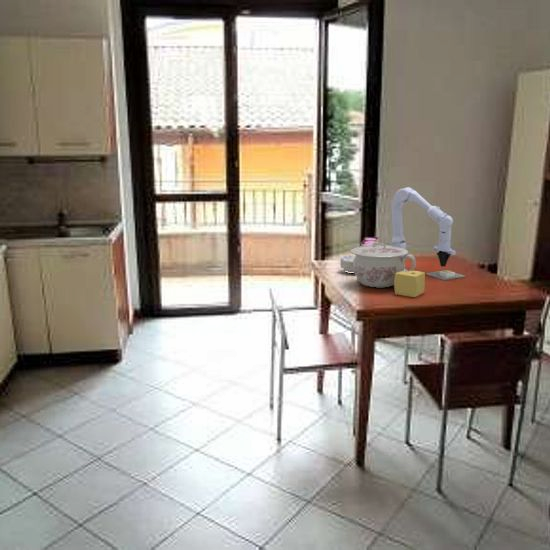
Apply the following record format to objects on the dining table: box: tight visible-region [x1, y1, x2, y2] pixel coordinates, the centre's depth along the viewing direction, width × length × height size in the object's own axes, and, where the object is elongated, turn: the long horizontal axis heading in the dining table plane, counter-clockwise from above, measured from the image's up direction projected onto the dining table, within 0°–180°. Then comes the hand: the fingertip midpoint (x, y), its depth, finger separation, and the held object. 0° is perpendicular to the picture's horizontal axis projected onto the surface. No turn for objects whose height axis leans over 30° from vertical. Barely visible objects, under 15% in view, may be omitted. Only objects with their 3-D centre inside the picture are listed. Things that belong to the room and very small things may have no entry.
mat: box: [425, 271, 467, 281], centre depth 281 cm, size 14×14×1 cm
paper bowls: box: [339, 254, 356, 272], centre depth 291 cm, size 15×15×8 cm
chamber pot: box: [350, 242, 417, 289], centre depth 264 cm, size 28×28×21 cm
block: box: [438, 269, 456, 278], centre depth 279 cm, size 5×2×6 cm
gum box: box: [360, 236, 379, 246], centre depth 309 cm, size 24×8×14 cm, turn 165°
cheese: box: [393, 270, 426, 298], centre depth 249 cm, size 10×11×10 cm
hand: (443, 266), depth 280 cm, fingers closed
